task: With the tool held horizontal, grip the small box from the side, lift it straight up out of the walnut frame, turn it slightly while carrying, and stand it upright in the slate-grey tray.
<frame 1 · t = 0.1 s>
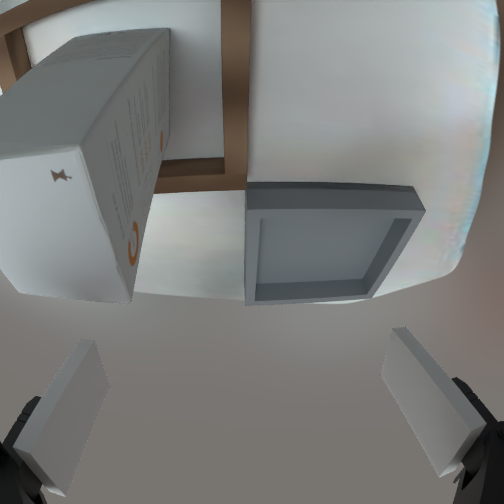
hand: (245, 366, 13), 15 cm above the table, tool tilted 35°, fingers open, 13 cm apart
small box: (123, 84, 17), resting in walnut frame
walnut frame: (122, 85, 17), on the table
slate tray: (320, 240, 31), on the table
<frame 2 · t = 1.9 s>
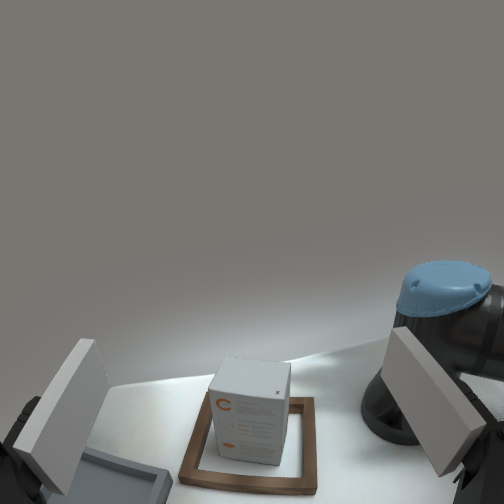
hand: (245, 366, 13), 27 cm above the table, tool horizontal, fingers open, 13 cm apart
small box: (254, 445, 36), resting in walnut frame
walnut frame: (253, 444, 36), on the table
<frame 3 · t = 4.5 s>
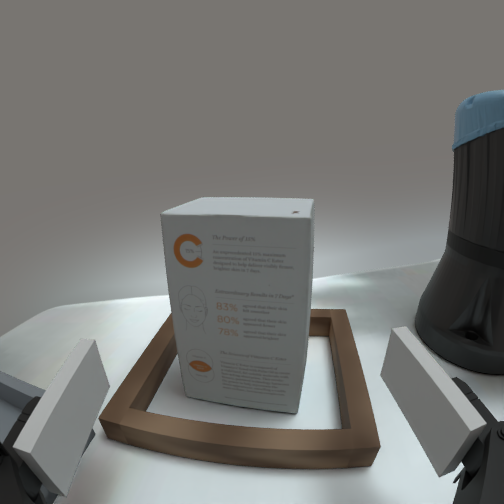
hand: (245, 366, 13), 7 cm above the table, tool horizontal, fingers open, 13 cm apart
small box: (249, 381, 22), resting in walnut frame
walnut frame: (249, 379, 22), on the table
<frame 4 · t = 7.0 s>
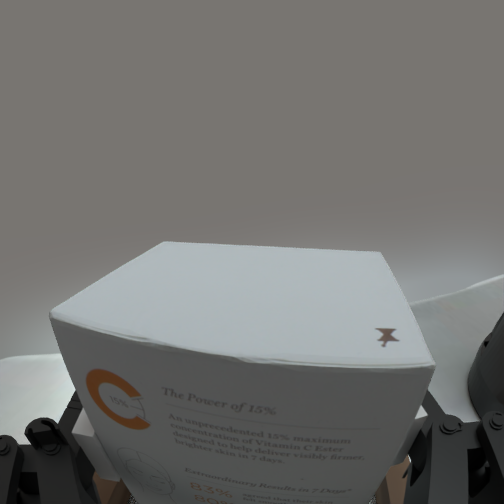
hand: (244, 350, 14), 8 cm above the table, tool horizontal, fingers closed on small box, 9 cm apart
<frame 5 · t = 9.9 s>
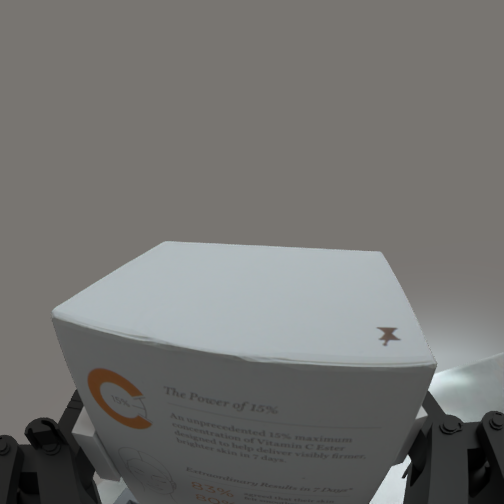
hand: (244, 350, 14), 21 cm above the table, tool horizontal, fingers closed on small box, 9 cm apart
when the fingers open (10 cm above the table, at t = 12.9 s): small box drops 1 cm, resting on slate tray.
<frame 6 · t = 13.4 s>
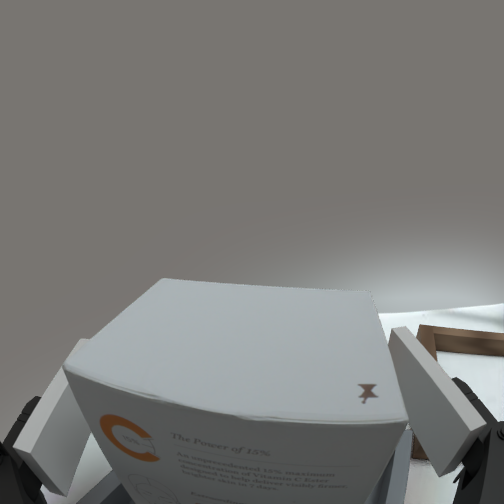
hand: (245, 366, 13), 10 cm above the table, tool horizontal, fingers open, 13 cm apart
walnut frame: (492, 393, 19), on the table
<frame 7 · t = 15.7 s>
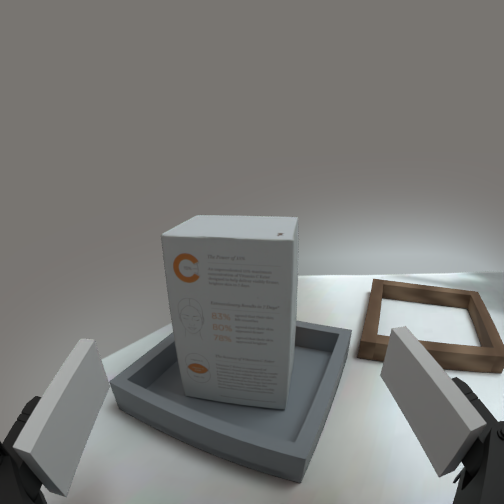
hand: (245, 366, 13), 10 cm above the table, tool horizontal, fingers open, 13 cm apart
small box: (242, 381, 25), point 1 cm above the table, touching slate tray
walnut frame: (429, 327, 32), on the table
slate tray: (243, 386, 25), on the table
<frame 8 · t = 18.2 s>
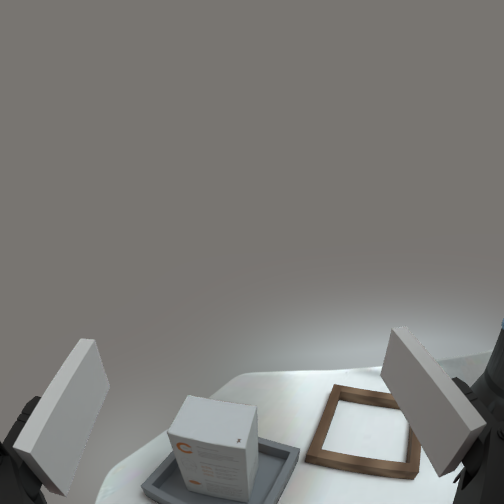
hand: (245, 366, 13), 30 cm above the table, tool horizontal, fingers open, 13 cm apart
small box: (223, 480, 32), point 1 cm above the table, touching slate tray
walnut frame: (369, 433, 39), on the table
slate tray: (224, 482, 32), on the table
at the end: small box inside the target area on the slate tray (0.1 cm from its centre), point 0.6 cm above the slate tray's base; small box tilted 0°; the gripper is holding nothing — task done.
